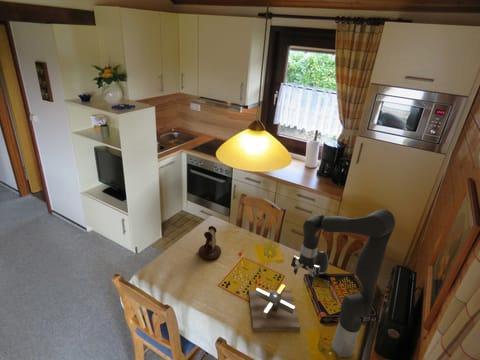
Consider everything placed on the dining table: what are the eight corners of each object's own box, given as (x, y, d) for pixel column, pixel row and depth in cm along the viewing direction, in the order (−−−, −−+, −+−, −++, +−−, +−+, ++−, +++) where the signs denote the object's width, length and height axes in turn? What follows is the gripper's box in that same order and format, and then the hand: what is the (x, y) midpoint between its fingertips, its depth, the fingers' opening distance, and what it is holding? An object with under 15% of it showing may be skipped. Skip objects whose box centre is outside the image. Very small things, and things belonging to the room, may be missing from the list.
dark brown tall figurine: (216, 264, 193) (217, 238, 184) (194, 257, 197) (194, 232, 188) (224, 249, 206) (225, 225, 197) (204, 244, 209) (204, 220, 200)
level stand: (300, 330, 154) (300, 327, 153) (252, 330, 152) (253, 327, 151) (290, 292, 176) (290, 290, 175) (248, 292, 174) (249, 290, 173)
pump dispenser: (314, 262, 200) (318, 244, 193) (329, 270, 194) (334, 251, 188) (307, 270, 193) (311, 251, 186) (322, 279, 187) (327, 260, 180)
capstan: (283, 333, 150) (285, 321, 146) (245, 311, 159) (246, 300, 156) (300, 303, 167) (302, 292, 163) (264, 285, 176) (266, 275, 173)
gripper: (325, 253, 149) (319, 278, 157) (298, 242, 156) (293, 267, 163) (320, 262, 144) (314, 287, 151) (292, 250, 150) (287, 275, 157)
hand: (303, 277), depth 157 cm, fingers open, 8 cm apart
